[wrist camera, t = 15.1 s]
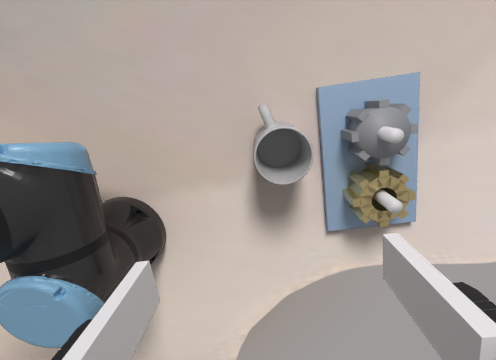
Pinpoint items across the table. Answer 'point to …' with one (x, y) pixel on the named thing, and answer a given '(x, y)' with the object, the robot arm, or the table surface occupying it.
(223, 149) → the table surface
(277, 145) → the mug
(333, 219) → the gear board
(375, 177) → the brass gear
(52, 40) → the table surface
